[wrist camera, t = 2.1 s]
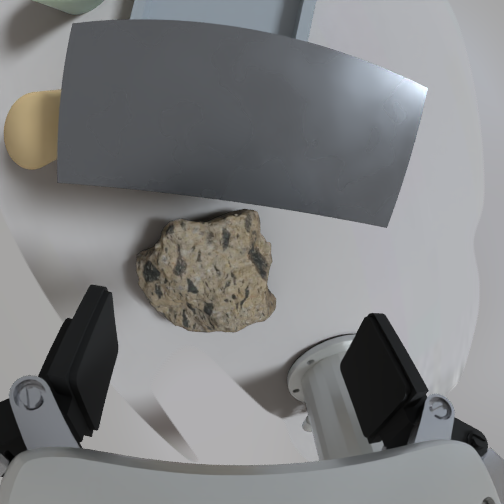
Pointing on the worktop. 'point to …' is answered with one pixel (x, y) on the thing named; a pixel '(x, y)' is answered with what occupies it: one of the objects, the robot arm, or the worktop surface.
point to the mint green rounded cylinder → (72, 5)
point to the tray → (235, 14)
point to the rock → (209, 273)
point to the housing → (234, 118)
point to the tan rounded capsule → (33, 129)
